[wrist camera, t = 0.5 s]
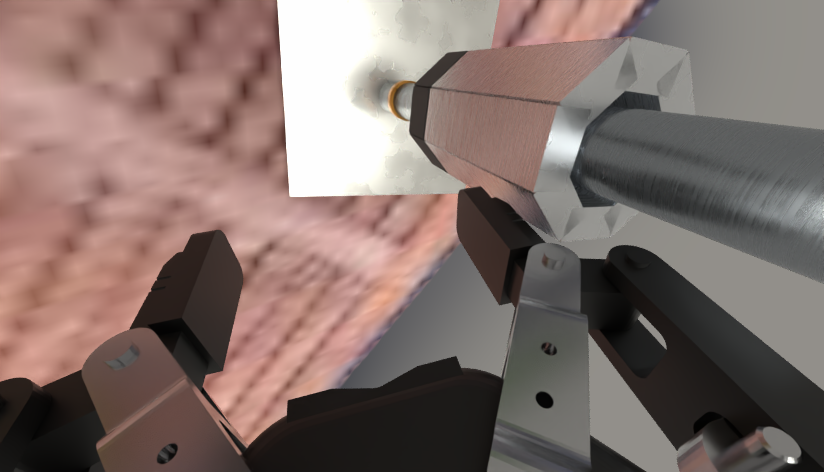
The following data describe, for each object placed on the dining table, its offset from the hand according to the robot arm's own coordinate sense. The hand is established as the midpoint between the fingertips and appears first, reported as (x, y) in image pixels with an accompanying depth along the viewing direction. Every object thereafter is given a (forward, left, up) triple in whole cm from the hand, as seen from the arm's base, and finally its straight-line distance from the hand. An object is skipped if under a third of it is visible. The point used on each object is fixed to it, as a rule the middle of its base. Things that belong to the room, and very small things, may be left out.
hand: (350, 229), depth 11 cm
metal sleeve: (-4, +7, -5) cm, 9 cm away
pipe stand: (-4, +7, -21) cm, 22 cm away
